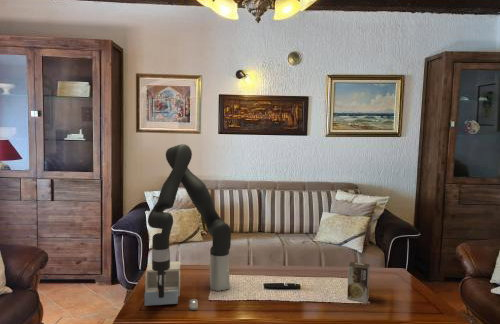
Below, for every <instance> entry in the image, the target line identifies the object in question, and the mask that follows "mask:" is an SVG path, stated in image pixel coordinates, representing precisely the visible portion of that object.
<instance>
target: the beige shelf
mask: <svg viewBox="0 0 500 324" xmlns="http://www.w3.org/2000/svg"><path fill="white" fill-rule="evenodd" d="M165 272H166V278H165V285H164V286H165V287H178V297H180V293H181V261H170V268H169V269H168V270H166V271H165ZM156 274H157V271H154V270H153V269H152V262H148V263H147V267H146V270H145V277H144V279H145V280H144V281H145V282H144V283H145V292H147V289H148V288H158V285H157V279H156ZM145 292H144V293H145Z"/></svg>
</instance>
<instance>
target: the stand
mask: <svg viewBox="0 0 500 324" xmlns="http://www.w3.org/2000/svg"><path fill="white" fill-rule="evenodd" d="M198 309H199V300H198V299H197V298H193V299H189V310H190V311H192V312H193V311H197V310H198Z"/></svg>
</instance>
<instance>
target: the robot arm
mask: <svg viewBox="0 0 500 324" xmlns="http://www.w3.org/2000/svg"><path fill="white" fill-rule="evenodd" d="M192 156H193V153H192V149H191V148H190V146H189V145H187V144H183V143H182V144H177V145H174V146H171V147H169V148H167V150H166V151H165V158H166V159H165V160H166V161H167V163H168V165H169V166H170V168H171V172H170V173H169V175H168V177H167V178H166V179H165V181H164V182H163V185H162V187H161V189H160V192H159V194H158V195H159V196H158V199H157V201H156V203H155V204H154V206H153V208H152V209H151V211H150V212H149V214H148V217H147V224H148V226H149V227H150V228H153V229H161V232H157V233H155V234H153V235H152V239H151V240H152V243H151V244H152V248H151V249H152V250H151V263H152V269H153V270H154V271H157V274H156V279H157V285H158V290H159V298H163V297H164V287H165V286H164V285H165V278H166V272H165V271H166V270H168V269H169V268H170V262H171V252H170V236H171V232H172V228H173V224H174V216H173V214H171V212H168V211H167V212H166V210H168V209H172V208H173V207H174V205H175V201H176V197H177V194H178V191H179V187H180V185H182V186H183V188H184V190H185V192H186V193H187V195H188V197H189V199H190V200H191V202H192V204H193V205H194V207H195V209H196V210H197V212H198V213H199V214H200V215H201V217H202V220H203V221H204V224H205V226H206V228H207V230H208V233H209V235H210V236H211V237H212V246H211V247H210V249H209V251H210V252H209V264H210V265H209V288H210V290H211V291H215V290H216V291H215V292H222V291H221V290H223V291H227V290H230V249H231V246H232V245H231V243H232V230H231V227H230V225H229V224H228V223H226V222H225V221H223V220H222V218H221V217H220V215H219V214H218V212H217V210H216V208H215V206H214V201H213V198H212V195H211V192H209V189H208V188H207V185H206V184H205V182H203V180H202V179H201V178H200V177H198V176H197V175H196V174H194V173H193V172H192V171H191V170H190V169H189V165H190V164H191V163H190V162H191V160H192ZM226 289H227V290H226Z"/></svg>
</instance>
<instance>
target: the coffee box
mask: <svg viewBox="0 0 500 324" xmlns="http://www.w3.org/2000/svg"><path fill="white" fill-rule="evenodd" d="M370 265H371V264H368V263H363V262H355V261H350V262H349V264H348V266H347V298H346V299H347V300H349V301H357V302H361V303H362V302H363V303H368V301H369V298H370V297H369V295H370V292H369V291H370Z"/></svg>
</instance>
